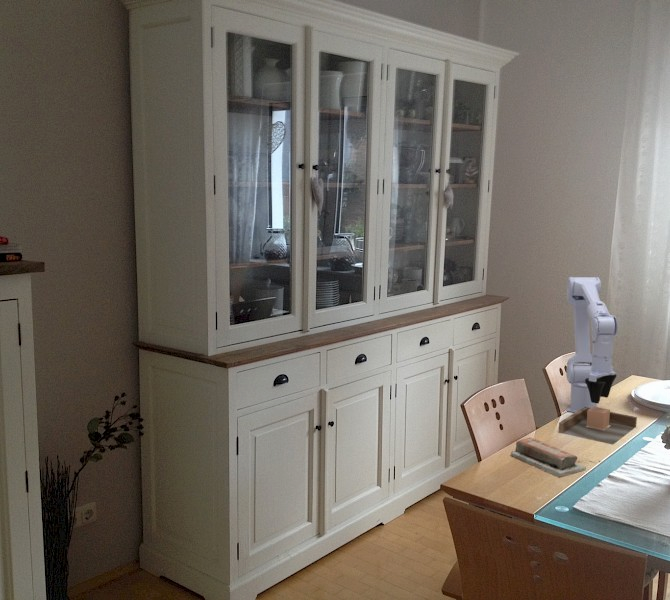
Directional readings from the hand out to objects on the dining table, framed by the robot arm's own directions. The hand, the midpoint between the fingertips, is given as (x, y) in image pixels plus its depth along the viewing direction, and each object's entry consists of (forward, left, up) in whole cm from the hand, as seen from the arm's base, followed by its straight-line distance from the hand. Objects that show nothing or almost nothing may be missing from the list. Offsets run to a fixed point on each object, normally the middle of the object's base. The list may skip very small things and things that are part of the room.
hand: (599, 399), depth 221 cm
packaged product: (+35, -1, -10) cm, 37 cm away
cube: (0, 0, -8) cm, 8 cm away
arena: (+3, +1, -9) cm, 10 cm away
